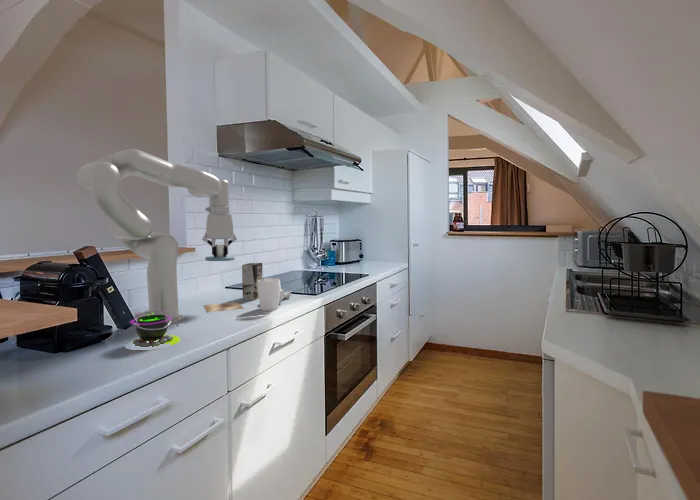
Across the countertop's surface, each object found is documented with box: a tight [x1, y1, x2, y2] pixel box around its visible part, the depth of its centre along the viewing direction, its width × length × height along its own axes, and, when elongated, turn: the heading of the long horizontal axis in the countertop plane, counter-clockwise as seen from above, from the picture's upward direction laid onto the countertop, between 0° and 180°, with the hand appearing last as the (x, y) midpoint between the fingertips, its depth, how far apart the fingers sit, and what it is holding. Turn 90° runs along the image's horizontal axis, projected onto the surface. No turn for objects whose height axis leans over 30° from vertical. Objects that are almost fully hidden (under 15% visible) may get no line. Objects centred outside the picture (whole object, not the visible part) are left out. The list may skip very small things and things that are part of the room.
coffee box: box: [241, 262, 264, 301], centre depth 182 cm, size 9×6×16 cm
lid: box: [204, 243, 235, 262], centre depth 162 cm, size 11×11×6 cm
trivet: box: [203, 301, 245, 313], centre depth 164 cm, size 14×14×1 cm
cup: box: [257, 277, 282, 311], centre depth 160 cm, size 9×9×12 cm
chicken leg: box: [279, 288, 292, 304], centre depth 176 cm, size 8×18×8 cm, turn 163°
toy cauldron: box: [129, 306, 181, 347], centre depth 119 cm, size 15×15×11 cm
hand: (220, 256), depth 162 cm, fingers closed on lid, 3 cm apart
